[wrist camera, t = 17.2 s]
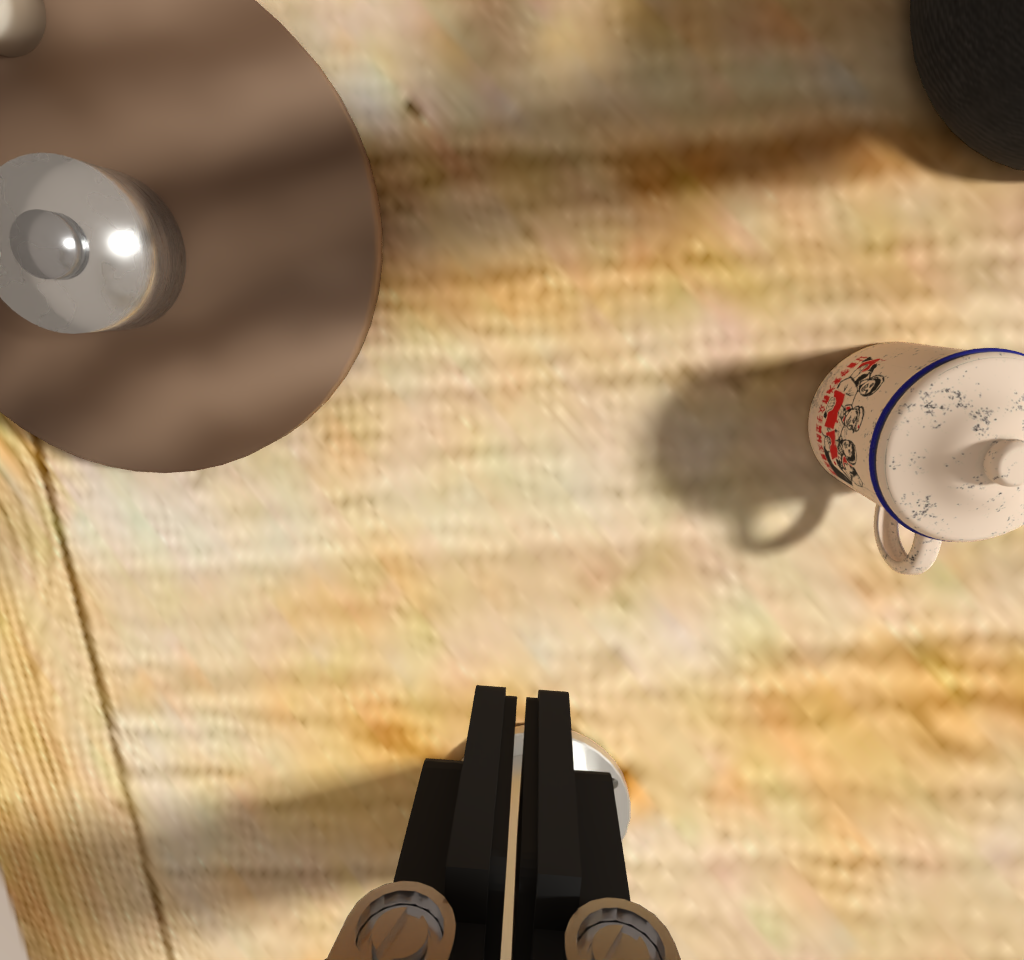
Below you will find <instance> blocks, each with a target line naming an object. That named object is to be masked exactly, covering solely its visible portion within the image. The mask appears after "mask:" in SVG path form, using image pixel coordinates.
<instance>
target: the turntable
mask: <svg viewBox="0 0 1024 960" xmlns="http://www.w3.org/2000/svg"><path fill="white" fill-rule="evenodd" d="M32 153H53V154H58V155H63V156H67V157H70V158H74V159H77V160H80V161H84V162H87V163H91V164H94V165H97V166H101V167H104V168H108V169H111V170H114V171H118V172H121V173H124V174H127V175H129V176H131V177H133V178H135V179H137V180H139V181H140V182H142V183H143V184H145V185H146V186H148V187H149V188H150V189H151V190H152V191H154V192H155V193H156V194H157V195H158V196H159V197H160V198H161V199H162V200H163V202H164V203H165V204H166V206H167V207H168V208H169V210H170V211H171V213H172V215H173V216H174V218H175V220H176V222H177V224H178V226H179V229H180V231H181V234H182V238H183V241H184V246H185V252H186V272H185V278H184V283H183V286H182V289H181V291H180V293H179V295H178V298H177V300H176V301H175V302H174V304H173V305H172V307H171V308H170V309H169V310H168V311H167V312H166V313H165V314H164V315H163V316H162V317H160V318H159V319H158V320H156V321H154V322H152V323H151V324H148V325H146V326H143V327H140V328H135V329H127V330H115V331H103V332H90V333H77V334H69V333H60V332H55V331H51V330H48V329H45V328H42V327H39V326H37V325H35V324H33V323H31V322H29V321H28V320H26V319H24V318H23V317H21V316H20V315H19V314H17V313H16V312H15V311H14V310H12V309H11V308H10V307H9V306H8V305H7V304H6V303H5V302H4V301H3V300H2V299H1V297H0V412H1V413H2V414H4V415H5V416H6V417H8V418H9V419H10V420H12V421H13V422H14V423H16V424H17V425H19V426H20V427H21V428H23V429H24V430H26V431H28V432H30V433H31V434H33V435H35V436H36V437H38V438H40V439H42V440H43V441H45V442H47V443H48V444H50V445H52V446H55V447H57V448H59V449H61V450H64V451H66V452H68V453H71V454H73V455H75V456H77V457H80V458H83V459H87V460H90V461H93V462H96V463H99V464H103V465H106V466H110V467H116V468H121V469H127V470H132V471H140V472H158V473H172V472H185V471H196V470H201V469H205V468H210V467H215V466H220V465H223V464H226V463H229V462H232V461H234V460H237V459H240V458H243V457H246V456H248V455H250V454H252V453H254V452H256V451H258V450H260V449H262V448H263V447H265V446H267V445H269V444H271V443H273V442H275V441H277V440H278V439H280V438H282V437H284V436H286V435H287V434H289V433H290V432H291V431H293V430H294V429H296V428H297V427H298V426H300V425H301V424H302V423H304V422H305V421H307V420H308V419H309V418H310V417H311V416H312V415H313V414H314V413H315V412H316V411H317V410H318V409H319V408H320V407H321V406H322V405H323V404H324V403H325V402H326V401H328V400H329V398H330V397H331V396H332V394H333V393H334V392H335V390H336V389H337V388H338V386H339V385H340V384H341V383H342V381H343V380H344V379H345V377H346V376H347V374H348V372H349V370H350V369H351V367H352V365H353V363H354V362H355V360H356V358H357V356H358V354H359V353H360V351H361V348H362V346H363V343H364V341H365V338H366V335H367V333H368V330H369V328H370V325H371V322H372V318H373V314H374V310H375V306H376V302H377V299H378V295H379V287H380V278H381V270H382V224H381V216H380V208H379V200H378V194H377V190H376V186H375V182H374V178H373V174H372V170H371V166H370V162H369V159H368V157H367V154H366V152H365V149H364V146H363V144H362V141H361V138H360V136H359V133H358V131H357V128H356V126H355V124H354V122H353V120H352V118H351V117H350V115H349V113H348V111H347V109H346V107H345V105H344V103H343V101H342V99H341V97H340V96H339V94H338V93H337V91H336V90H335V88H334V87H333V85H332V84H331V82H330V81H329V80H328V78H327V77H326V75H325V74H324V72H323V71H322V69H321V68H320V66H319V65H318V64H317V63H316V62H315V61H314V59H313V58H312V57H311V56H310V55H309V54H308V53H307V51H306V50H305V49H304V48H303V47H302V46H301V45H300V43H299V42H298V41H297V40H296V39H295V38H294V37H293V36H292V35H291V34H290V32H289V31H288V30H287V29H286V28H285V27H284V26H283V25H282V24H281V23H280V22H279V21H278V20H277V19H276V18H274V17H273V16H272V15H271V14H270V13H269V12H268V11H267V10H265V9H264V8H263V7H262V6H261V5H260V4H259V3H258V2H257V1H255V0H0V166H2V165H3V164H5V163H7V162H8V161H10V160H12V159H14V158H17V157H19V156H23V155H27V154H32Z"/></svg>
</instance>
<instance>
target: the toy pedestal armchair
mask: <svg viewBox="0 0 1024 960" xmlns="http://www.w3.org/2000/svg"><path fill="white" fill-rule="evenodd" d="M910 31H911V38H912V45H913V52H914V58H915V62H916V65H917V69H918V72H919V75H920V78H921V81H922V84H923V87H924V89H925V91H926V93H927V95H928V97H929V99H930V101H931V103H932V105H933V106H934V108H935V110H936V112H937V113H938V114H939V116H940V117H941V118H942V119H943V121H944V122H945V123H946V125H947V126H948V127H949V129H950V130H951V131H952V132H953V133H954V134H955V135H957V136H958V137H959V138H960V139H961V140H962V141H963V142H964V143H966V144H967V145H968V146H969V147H970V148H972V149H973V150H975V151H977V152H978V153H980V154H982V155H983V156H985V157H987V158H988V159H990V160H992V161H995V162H997V163H1000V164H1003V165H1006V166H1008V167H1011V168H1014V169H1018V170H1024V0H910Z"/></svg>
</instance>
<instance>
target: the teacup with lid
mask: <svg viewBox="0 0 1024 960" xmlns="http://www.w3.org/2000/svg"><path fill="white" fill-rule="evenodd" d="M808 433H809V439H810V443H811V447H812V449H813V452H814V454H815V456H816V458H817V459H818V461H819V462H820V464H821V465H822V466H823V467H824V468H825V470H826V471H827V472H828V473H830V474H831V475H832V476H833V477H835V478H836V479H837V480H839V481H841V482H842V483H844V484H846V485H847V486H849V487H850V488H852V489H854V490H855V491H857V492H859V493H860V494H862V495H863V496H865V497H867V498H868V499H870V500H871V501H873V502H875V503H876V508H875V515H874V534H875V539H876V543H877V546H878V549H879V551H880V554H881V555H882V557H883V559H884V560H885V562H886V563H887V564H888V565H889V566H890V567H891V568H892V569H893V570H895V571H896V572H898V573H901V574H908V575H917V574H921V573H923V572H925V571H926V570H928V569H929V568H930V567H931V566H932V564H933V563H934V561H935V560H936V558H937V555H938V553H939V550H940V546H941V542H942V541H949V542H972V541H979V540H985V539H989V538H993V537H996V536H1000V535H1003V534H1005V533H1008V532H1010V531H1012V530H1015V529H1017V528H1018V527H1020V526H1022V525H1024V354H1022V353H1019V352H1016V351H1012V350H1007V349H998V348H981V349H972V350H962V349H954V348H946V347H938V346H930V345H922V344H914V343H906V342H887V343H881V344H876V345H872V346H869V347H866V348H863V349H861V350H859V351H857V352H855V353H853V354H851V355H850V356H848V357H847V358H845V359H844V360H842V361H841V362H840V363H839V364H838V365H836V366H835V367H834V368H833V369H832V370H831V371H830V372H829V374H828V375H827V376H826V377H825V379H824V380H823V381H822V383H821V384H820V386H819V388H818V390H817V391H816V394H815V396H814V398H813V401H812V404H811V407H810V412H809V419H808ZM898 523H900V524H901V525H902V526H904V527H905V528H907V529H909V530H910V531H912V532H914V533H915V536H914V541H913V544H912V548H911V550H910V552H909V554H908V555H907V553H906V552H905V550H904V548H903V546H902V544H901V541H900V537H899V531H898Z"/></svg>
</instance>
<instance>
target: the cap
mask: <svg viewBox="0 0 1024 960" xmlns="http://www.w3.org/2000/svg"><path fill="white" fill-rule="evenodd" d="M185 272H186V252H185V246H184V241H183V238H182V234H181V231H180V229H179V226H178V224H177V222H176V220H175V218H174V216H173V215H172V213H171V211H170V210H169V208H168V207H167V206H166V204H165V203H164V202H163V200H162V199H161V198H160V197H159V196H158V195H157V194H156V193H155V192H154V191H152V190H151V189H150V188H149V187H148V186H146V185H145V184H143V183H142V182H140V181H139V180H137V179H135V178H133V177H131V176H129V175H127V174H124V173H121V172H118V171H114V170H111V169H108V168H104V167H101V166H97V165H94V164H91V163H87V162H84V161H80V160H77V159H74V158H70V157H67V156H63V155H58V154H53V153H32V154H27V155H23V156H19V157H17V158H14V159H12V160H10V161H8V162H7V163H5V164H3V165H2V166H0V297H1V299H2V300H3V301H4V302H5V303H6V304H7V305H8V306H9V307H10V308H11V309H12V310H14V311H15V312H16V313H17V314H19V315H20V316H21V317H23V318H24V319H26V320H28V321H29V322H31V323H33V324H35V325H37V326H39V327H42V328H45V329H48V330H51V331H55V332H60V333H69V334H77V333H90V332H103V331H115V330H127V329H135V328H140V327H143V326H146V325H148V324H151V323H152V322H154V321H156V320H158V319H159V318H160V317H162V316H163V315H164V314H165V313H166V312H167V311H168V310H169V309H170V308H171V307H172V305H173V304H174V302H175V301H176V300H177V298H178V295H179V293H180V291H181V289H182V286H183V283H184V278H185Z"/></svg>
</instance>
